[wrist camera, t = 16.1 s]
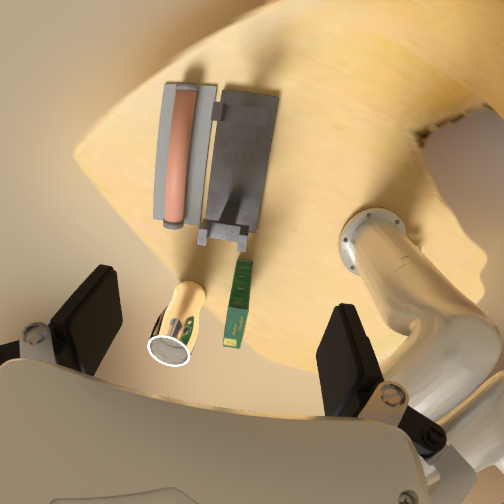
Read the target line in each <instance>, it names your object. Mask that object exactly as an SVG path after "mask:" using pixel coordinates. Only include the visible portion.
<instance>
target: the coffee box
mask: <svg viewBox="0 0 504 504" xmlns="http://www.w3.org/2000/svg"><path fill="white" fill-rule="evenodd" d="M252 265H253V262H252V261H247V260H242V259H238V260H237V263H236V268H235V273H234V279H233V284H232V289H231V294H230V300H229V306H228V311H227V317H226V323H225V331H224V339H223V346H224V347H232V348H238V349H239V348H240V347H241V343H242V339H243V334H244V330H245V326H246V321H247V317H248V312H249V299H250V286H251V274H252Z"/></svg>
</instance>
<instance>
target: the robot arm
mask: <svg viewBox="0 0 504 504" xmlns="http://www.w3.org/2000/svg"><path fill="white" fill-rule="evenodd" d="M368 213H369V214H368ZM367 214H368V215H367ZM345 237H346V238H345ZM344 238H345V239H344ZM339 254H340V257H341V260H342V262H343V263H344V265H345V267H346V268H347V269H348V270H349V271H350V272H352V273H354V274H355V275H358V276H361V278H362V279H363V281H364V283H365V285H366V287H367V289H368V291H369V293H370V295H371V297H372V299H373V301H374V303H375V305H376V307H377V309H378V311H379V313H380V315H381V317H382V319H383V320H384V322H385V323H386V325H387V326H388V327H389V328H391V329H392V330H393V331H395V332H397V333H399V334H402V335H405V336H408V338H407V339H406V340H405V341H404V342H403V343H402V344H401V345H400V346H399V347H398V349H397V350H396V351H395V352H394V353H393V354H392V355H391V356H390V357H389V358H388V359H387V360H385V361H384V362H383V363H382V364H381V365H380V366H379V364H378V361H377V359H376V356H375V353H374V350H373V348H372V345H371V343H370V340H369V338H368V337H367V336H366V334H365V331H364V329H363V326H362V324H361V321H360V318H359V316H358V313H357V311H356V309H355V306H354V305H353V304H344V303H341V304H339V306H335V308H334V310H333V313H332V315H331V318H330V320H329V323H328V325H327V328H326V330H325V333H324V335H323V337H322V340H321V342H320V345H319V347H318V349H317V353H316V360H317V366H318V372H319V378H320V385H321V391H322V398H323V404H324V411H325V416H304V415H286V414H273V413H262V412H252V411H244V410H236V409H228V408H221V407H215V406H209V405H203V404H197V403H192V402H187V401H182V400H177V399H173V398H168V397H164V396H160V395H155V394H151V393H147V392H143V391H139V390H136V389H132V388H129V387H125V386H122V385H119V384H115V383H112V382H109V381H106V380H102V379H99V378H96V377H93V376H94V374H95V372H96V371H97V369H98V367H99V365H100V363H101V361H102V359H103V358H104V356H105V354H106V352H107V350H108V349H109V346H110V345H111V343H112V341H113V340H114V338H115V336H116V334H117V333H118V331H119V329H120V327H121V325H122V321H123V318H122V311H121V304H120V297H119V289H118V281H117V273H116V271H114V269H113V267H112V266H106V265H102V264H100V265H99V266H98V267H97V268H96V269H95V270H94V271H93V272H92V273H91V274H90V275H89V277H88V278H87V279H86V280H85V281H84V282H83V283H82V284H81V285H80V286H79V288H78V289H77V290H76V291H75V292H74V293H73V294H72V295H71V296H70V298H69V299H68V300H67V301H66V302H65V304H64V305H63V306H62V307H61V308H60V309H59V311H58V312H57V313H56V314H55V315H54V317H53V318H52V319H51V320H50V321H51V322H50V323H49V325H48V326H47V324H44V323H42V322H34V323H31V324H28V325H27V326H25V327H24V329H22V331H21V333H20V338H19V340H18V341H14V342H11V343H7V344H4V345H0V504H461V503H462V502H463V500H464V499H465V498H466V497H467V495H468V494H469V493H470V491H471V490H472V488H473V487H474V485H475V483H476V479H477V476H476V473H477V472H479V471H480V470H482V469H484V468H486V467H488V466H490V465H496V466H497V467H498V468H499V469H500V470H501V472H502V473H503V474H504V370H503V371H500V372H498V373H497V374H495V375H494V376H492V377H491V378H490V379H489V380H487V381H486V382H485V383H484V384H482V385H481V386H480V387H479V388H478V389H477V390H476V391H474V392H473V393H472V394H471V395H470V396H469V397H468V398H466V397H467V396H468V395H469V394H470V393H471V392H472V391H473V390H475V389H476V388H477V387H478V386H479V385H480V384H481V383H482V382H483V380H484V379H485V378H486V377H487V376H488V374H489V373H490V372H491V370H492V369H493V368H494V366H495V364H496V362H497V360H498V358H499V356H500V352H501V346H502V340H501V334H500V332H499V329H498V327H497V325H496V324H495V323H494V321H493V320H492V319H491V317H490V316H489V315H488V314H487V313H485V311H483V310H482V309H481V308H480V307H478V306H477V305H476V304H475V303H474V302H472V301H471V300H470V299H469V298H467V297H466V296H465V295H464V294H463V293H462V292H460V291H459V290H458V289H457V288H456V287H455V286H454V285H453V284H452V283H451V282H450V281H449V280H448V279H447V278H446V277H445V276H444V275H443V274H442V273H441V272H440V271H439V270H438V269H437V268H436V266H435V265H434V264H433V263H432V262H431V261H430V260H429V259H428V258H427V257H426V256H425V255H424V254H423V253H422V252H421V247H419V246H415V245H414V244H413V243H412V242H411V241H410V240H409V239H408V238H407V232H406V228H405V225H404V224H403V222H402V220H401V219H400V218H399V217H398V216H397V215H396V214H395V213H393V212H392V211H390V210H388V209H384V208H369V209H366V210H363V211H361V212H359V213H358V214H356V215H355V216H354V217H352V218H351V219H350V220H349V221H348V223H347V224H346V225H345V227H344V229H343V230H342V233H341V236H340V239H339ZM464 398H466V399H465V400H464V401H463V402H462V403H461V404H459V403H460V402H461V401H462V400H463V399H464ZM457 404H459V405H458V406H457V407H456V408H455V409H453V408H454V407H455V406H456V405H457ZM451 409H453V410H452V411H451V412H449V411H450V410H451ZM447 412H449V413H448V414H447V415H445V416H444V417H443V418H441V419H440V420H438V419H439V418H440V417H442V416H443V415H444V414H446V413H447ZM502 504H504V503H502Z"/></svg>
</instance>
